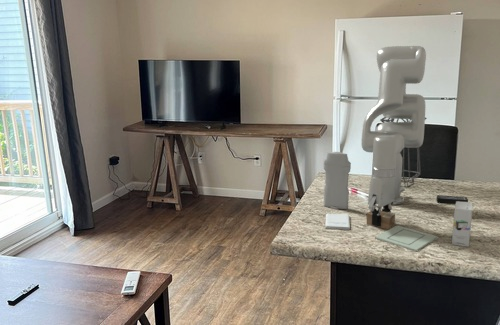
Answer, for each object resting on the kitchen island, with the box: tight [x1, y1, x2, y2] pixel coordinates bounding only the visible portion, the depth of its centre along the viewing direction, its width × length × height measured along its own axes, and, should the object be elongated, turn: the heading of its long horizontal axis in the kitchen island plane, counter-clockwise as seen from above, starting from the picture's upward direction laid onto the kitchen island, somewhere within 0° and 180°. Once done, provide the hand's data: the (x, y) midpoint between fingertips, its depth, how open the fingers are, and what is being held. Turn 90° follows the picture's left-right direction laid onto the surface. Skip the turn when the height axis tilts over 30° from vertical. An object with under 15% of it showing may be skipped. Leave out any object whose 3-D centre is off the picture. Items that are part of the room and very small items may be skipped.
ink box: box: [451, 201, 473, 247], centre depth 139 cm, size 8×5×12 cm, turn 154°
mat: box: [374, 224, 438, 252], centre depth 143 cm, size 14×14×1 cm
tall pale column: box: [323, 151, 352, 210], centre depth 171 cm, size 11×4×22 cm, turn 61°
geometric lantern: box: [379, 116, 428, 188], centre depth 199 cm, size 16×16×35 cm
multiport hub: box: [436, 194, 469, 205], centre depth 176 cm, size 4×11×2 cm, turn 73°
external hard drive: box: [324, 213, 351, 231], centre depth 158 cm, size 2×8×12 cm
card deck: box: [366, 209, 396, 230], centre depth 155 cm, size 5×8×4 cm, turn 51°
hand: (381, 222), depth 155 cm, fingers closed on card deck, 5 cm apart
